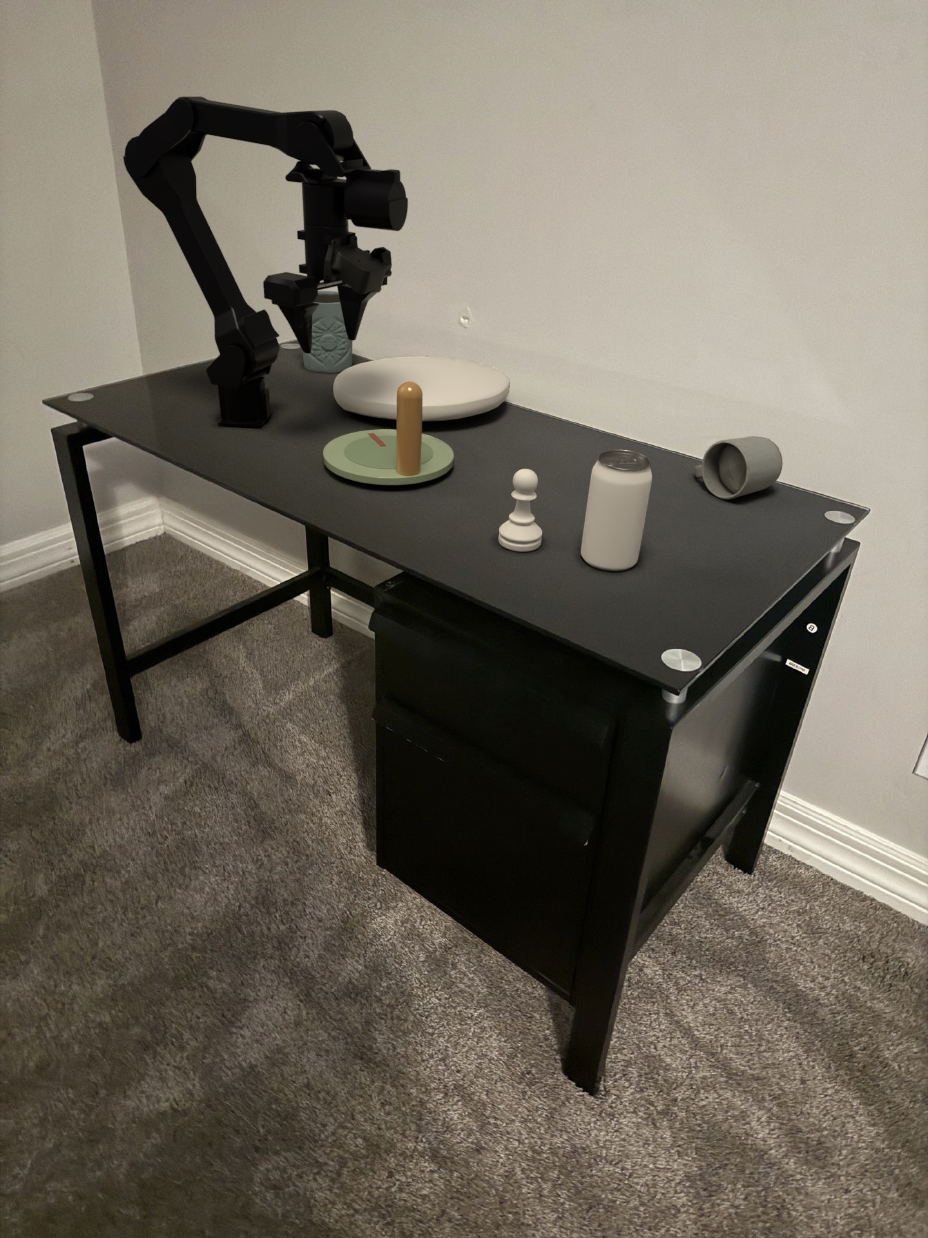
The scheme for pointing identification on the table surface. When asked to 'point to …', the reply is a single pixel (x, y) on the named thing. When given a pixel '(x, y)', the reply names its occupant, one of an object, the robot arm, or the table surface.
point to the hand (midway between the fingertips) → (330, 346)
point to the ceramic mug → (740, 466)
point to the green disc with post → (392, 448)
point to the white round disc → (422, 387)
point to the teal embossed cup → (328, 337)
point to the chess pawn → (522, 516)
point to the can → (616, 510)
